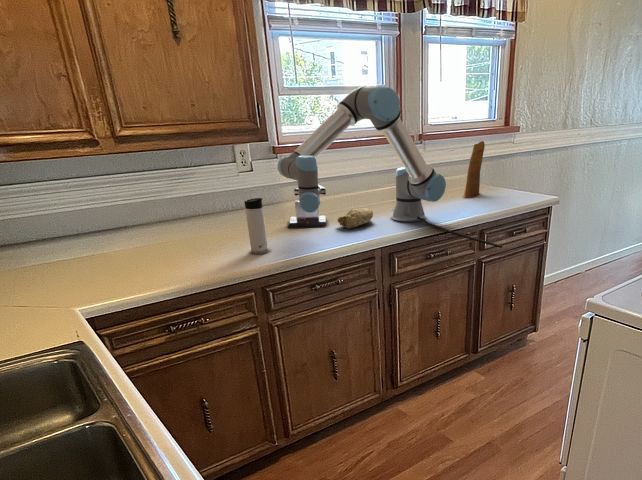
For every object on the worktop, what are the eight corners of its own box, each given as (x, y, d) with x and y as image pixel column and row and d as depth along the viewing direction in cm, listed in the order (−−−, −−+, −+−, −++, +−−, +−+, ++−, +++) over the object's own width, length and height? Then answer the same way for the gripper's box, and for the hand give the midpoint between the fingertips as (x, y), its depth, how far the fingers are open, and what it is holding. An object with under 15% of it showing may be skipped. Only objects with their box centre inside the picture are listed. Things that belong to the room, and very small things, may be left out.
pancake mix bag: (485, 193, 297) (489, 140, 283) (471, 199, 282) (474, 144, 269) (474, 192, 300) (477, 140, 286) (459, 198, 285) (462, 143, 272)
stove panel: (325, 219, 243) (325, 214, 242) (326, 226, 231) (325, 222, 230) (291, 220, 241) (290, 215, 240) (289, 228, 229) (289, 223, 228)
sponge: (353, 233, 225) (384, 216, 236) (347, 216, 222) (379, 199, 232) (335, 233, 234) (365, 216, 245) (329, 217, 231) (360, 200, 241)
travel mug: (264, 254, 195) (257, 200, 185) (248, 253, 196) (240, 199, 186) (271, 249, 200) (265, 196, 191) (255, 248, 201) (248, 196, 192)
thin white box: (318, 218, 237) (317, 199, 233) (318, 219, 235) (317, 200, 231) (296, 219, 235) (295, 200, 231) (296, 220, 234) (294, 201, 230)
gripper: (294, 205, 205) (296, 194, 225) (327, 204, 206) (326, 193, 227) (292, 185, 201) (294, 175, 221) (325, 185, 203) (324, 175, 223)
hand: (310, 184), depth 224 cm, fingers closed
